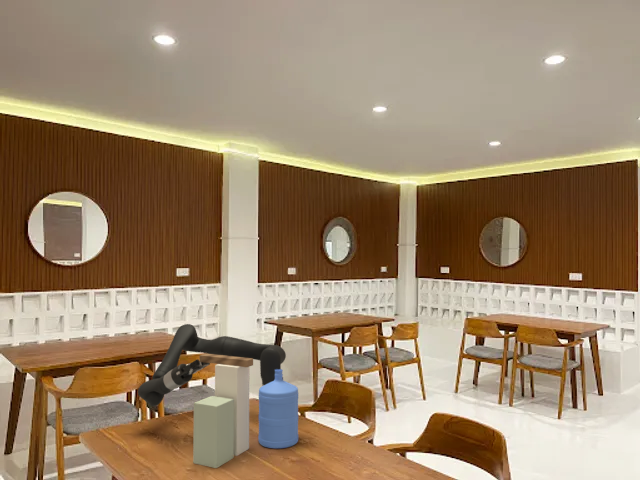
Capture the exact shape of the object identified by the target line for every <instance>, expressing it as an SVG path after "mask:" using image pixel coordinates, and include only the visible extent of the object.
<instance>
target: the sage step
mask: <svg viewBox="0 0 640 480" xmlns="http://www.w3.org/2000/svg"><path fill="white" fill-rule="evenodd" d="M192 437H193V442H192V443H193V447H192V448H193V451H192V452H193V453H192V455H193V457H192V463H193V464H196V465H200V466H205V467H209V468H214V469H217V468H219V467H221V466H223V465H224V464H226V463H228V462H229V461H231V460H232V459H234V455H233V449H234V399H229V398H222V397H215V395H210V396H208V397H205V398H203V399H201V400H198V401H196V402H193V436H192Z"/></svg>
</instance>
